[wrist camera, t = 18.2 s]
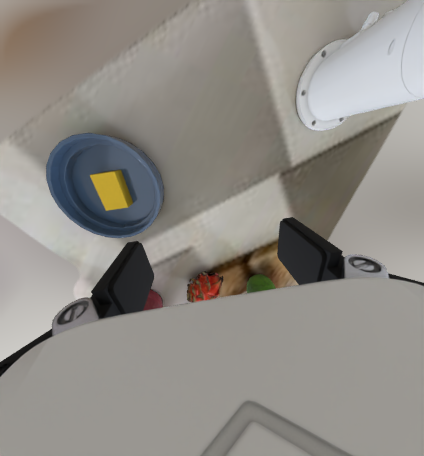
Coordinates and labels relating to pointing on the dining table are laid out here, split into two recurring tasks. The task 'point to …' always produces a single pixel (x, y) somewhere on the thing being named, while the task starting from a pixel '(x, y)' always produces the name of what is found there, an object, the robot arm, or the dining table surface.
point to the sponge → (112, 189)
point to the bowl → (86, 192)
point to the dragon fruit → (204, 287)
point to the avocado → (259, 283)
